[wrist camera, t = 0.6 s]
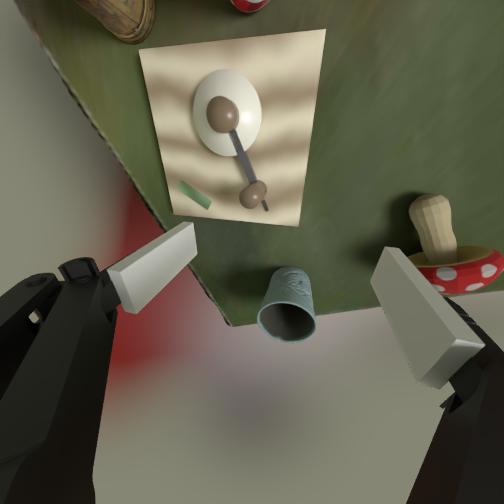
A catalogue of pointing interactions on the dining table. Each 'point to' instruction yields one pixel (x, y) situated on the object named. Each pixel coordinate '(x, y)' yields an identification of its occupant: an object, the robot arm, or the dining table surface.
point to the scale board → (270, 136)
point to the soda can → (249, 5)
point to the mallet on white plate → (231, 123)
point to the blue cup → (288, 307)
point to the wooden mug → (123, 17)
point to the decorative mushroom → (449, 250)
